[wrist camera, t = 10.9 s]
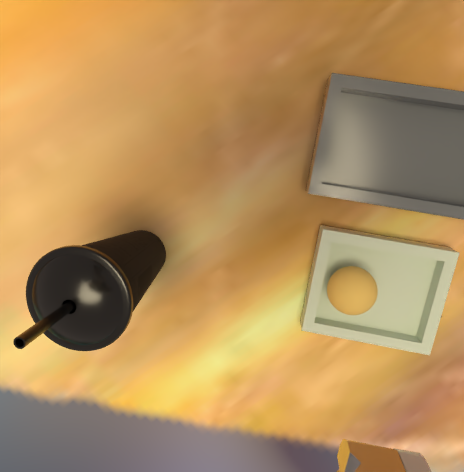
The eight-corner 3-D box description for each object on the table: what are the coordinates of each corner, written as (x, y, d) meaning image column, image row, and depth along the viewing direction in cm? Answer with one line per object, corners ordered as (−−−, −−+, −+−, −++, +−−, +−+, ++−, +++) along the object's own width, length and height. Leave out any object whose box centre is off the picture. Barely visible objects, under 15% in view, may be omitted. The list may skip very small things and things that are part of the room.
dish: (327, 79, 36) (332, 72, 33) (513, 106, 34) (535, 101, 31) (305, 190, 38) (308, 193, 35) (479, 219, 36) (497, 225, 33)
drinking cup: (143, 200, 40) (14, 244, 20) (194, 257, 40) (116, 354, 21) (92, 248, 41) (-74, 332, 22) (141, 302, 42) (23, 431, 22)
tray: (320, 224, 38) (323, 229, 36) (448, 246, 37) (459, 252, 35) (300, 320, 40) (301, 330, 38) (421, 343, 39) (429, 355, 37)
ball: (362, 261, 38) (323, 258, 37) (393, 277, 34) (351, 273, 33) (351, 304, 39) (313, 302, 38) (381, 324, 35) (339, 323, 34)
